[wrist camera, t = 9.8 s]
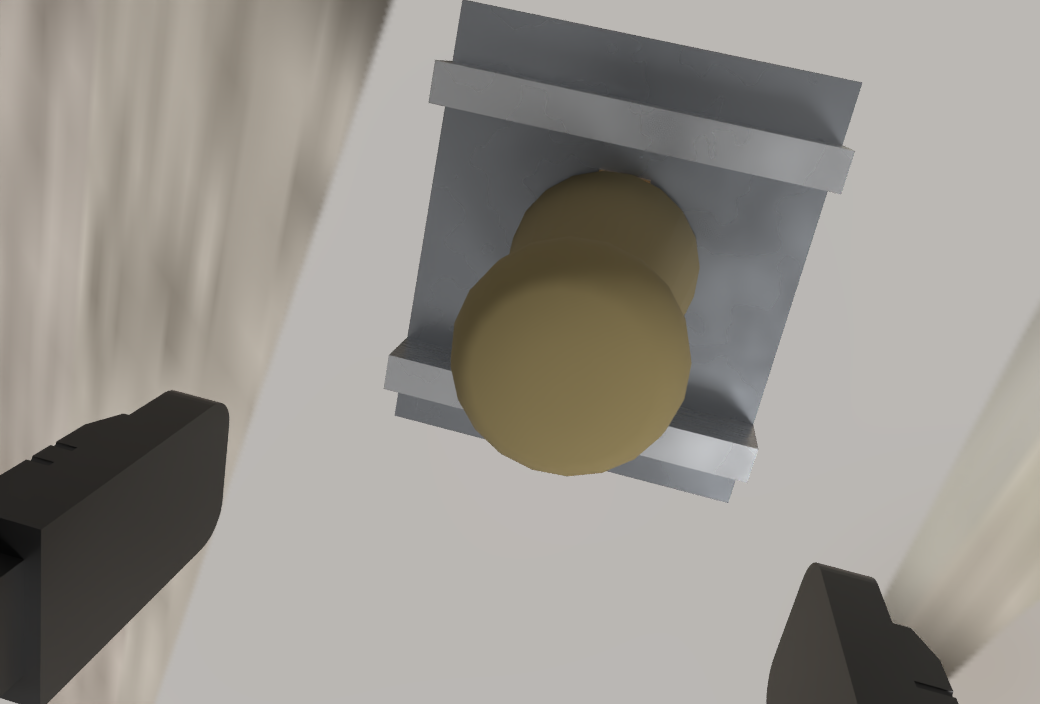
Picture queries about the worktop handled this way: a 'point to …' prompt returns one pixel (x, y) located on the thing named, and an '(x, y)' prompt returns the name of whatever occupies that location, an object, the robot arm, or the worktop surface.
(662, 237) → the cork
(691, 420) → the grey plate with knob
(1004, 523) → the worktop surface
